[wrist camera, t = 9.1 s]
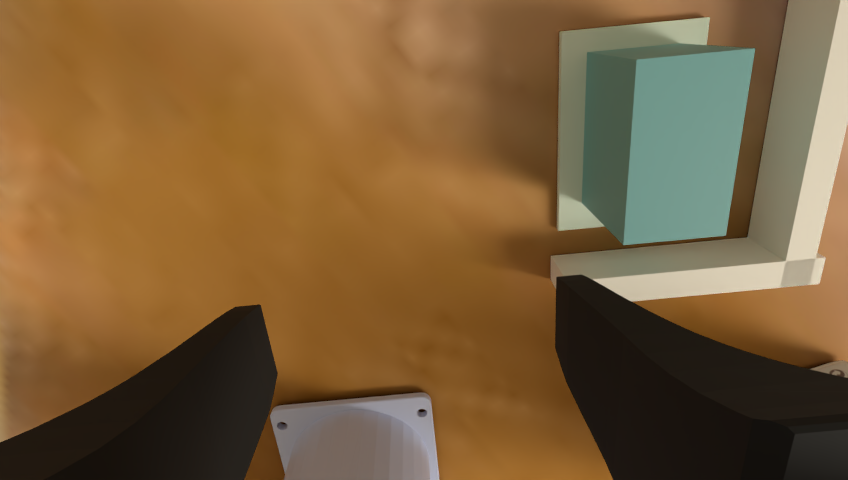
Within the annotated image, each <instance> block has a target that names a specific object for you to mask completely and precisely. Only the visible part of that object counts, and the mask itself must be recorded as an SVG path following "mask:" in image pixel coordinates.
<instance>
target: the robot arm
mask: <svg viewBox="0 0 848 480" xmlns="http://www.w3.org/2000/svg"><path fill="white" fill-rule="evenodd" d="M555 348H556V352H557V355H558V358H559V361H560V364H561V367H562V370H563V373H564V376H565V379H566V382H567V384H568V386H569V388H570V391H571V393H572V395H573V397H574V399H575V401H576V403H577V405H578V407H579V409H580V411H581V413H582V415H583V417H584V419H585V421H586V423H587V425H588V427H589V429H590V431H591V433H592V435H593V437H594V439H595V441H596V443H597V445H598V447H599V449H600V451H601V453H602V456H603V458H604V460H605V462H606V464H607V466H608V469H609V471H610V473H611V475H612V478H613V480H848V378H846V377H841V376H837V375H832V374H828V373H824V372H819V371H815V370H810V369H806V368H802V367H798V366H794V365H790V364H787V363H783V362H779V361H775V360H772V359H769V358H766V357H762V356H759V355H756V354H752V353H749V352H746V351H743V350H740V349H737V348H734V347H731V346H728V345H725V344H722V343H720V342H717V341H715V340H712V339H710V338H707V337H704V336H702V335H699V334H697V333H694V332H692V331H690V330H687V329H685V328H683V327H681V326H678V325H676V324H674V323H672V322H670V321H668V320H666V319H664V318H662V317H660V316H658V315H656V314H654V313H652V312H650V311H648V310H646V309H644V308H642V307H640V306H638V305H637V304H635V303H633V302H631V301H629V300H627V299H626V298H624V297H622V296H620V295H619V294H617V293H615V292H613V291H612V290H610V289H608V288H606V287H605V286H603V285H601V284H599V283H598V282H596V281H594V280H592V279H590V278H588V277H586V276H584V275H582V274H581V275H570V276H560V277H556V334H555ZM276 379H277V370H276V366H275V361H274V357H273V353H272V349H271V345H270V341H269V337H268V333H267V329H266V325H265V321H264V317H263V313H262V309H261V305H251V306H240V307H235V308H233V309H231V310H229V311H228V312H226V313H224V314H223V315H221V316H220V317H218V318H217V319H216V320H214V321H213V322H211V323H210V324H209V325H207V326H206V327H204V328H203V329H202V330H200V331H199V332H197V333H196V334H195V335H193V336H192V337H190V338H189V339H188V340H186V341H185V342H183V343H182V344H181V345H179V346H178V347H177V348H175V349H174V350H172V351H171V352H169V353H168V354H166V355H165V356H163V357H162V358H160V359H159V360H157V361H156V362H154V363H153V364H151V365H150V366H148V367H147V368H145V369H144V370H142V371H141V372H139V373H138V374H136V375H134V376H133V377H131V378H130V379H128V380H126V381H125V382H123V383H121V384H120V385H118V386H116V387H114V388H113V389H111V390H109V391H107V392H105V393H104V394H102V395H100V396H98V397H96V398H95V399H93V400H91V401H89V402H87V403H85V404H83V405H81V406H79V407H77V408H75V409H73V410H71V411H69V412H67V413H65V414H63V415H61V416H58V417H56V418H54V419H52V420H50V421H48V422H46V423H44V424H42V425H40V426H38V427H36V428H33V429H31V430H29V431H26V432H24V433H22V434H19V435H17V436H15V437H12V438H10V439H8V440H5V441H3V442H0V480H244V478H245V476H246V473H247V470H248V468H249V465H250V462H251V460H252V457H253V454H254V452H255V449H256V447H257V444H258V441H259V439H260V436H261V433H262V430H263V428H264V425H265V422H266V419H267V416H268V414H269V411H270V407H271V403H272V398H273V394H274V389H275V384H276ZM420 409H425V410H426V411H424V412H420V411H418V410H420ZM270 419H271V423H272V427H273V431H274V434H275V438H276V442H277V446H278V449H279V453H280V457H281V461H282V464H283V468H284V472H285V477H284V480H439V471H438V461H437V452H436V442H435V433H434V423H433V414H432V404H431V398H430V396H429V395H428V394H426V393H421V392H420V393H409V394H398V395H387V396H376V397H365V398H355V399H344V400H333V401H322V402H311V403H301V404H290V405H279V406H276V407H274V408H273V410H272V412H271V415H270ZM280 422H284V423H286V424H281V423H280Z"/></svg>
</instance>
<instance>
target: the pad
mask: <svg viewBox="0 0 848 480" xmlns="http://www.w3.org/2000/svg"><path fill="white" fill-rule="evenodd" d="M709 21H710V17H703V18H693V19H683V20H673V21H662V22H652V23H642V24H631V25H621V26H611V27H601V28H590V29H580V30H570V31H559V96H558V168H557V230H558V231H563V230H574V229H584V228H595V227H605V226H604V225H603V224H602V223H601V222H600V221H599V220H598V219H597V218H596V217H595V216H594V215H593V214H592V213H591V212H590V211H589V210H588V209H587V208H586V207H585V206H584V205H583V204H582V179H583V151H584V122H585V94H586V66H587V52H594V51H604V50H615V49H625V48H636V47H646V46H657V45H667V44H678V43H683V44H698V45H707V38H708V30H709Z"/></svg>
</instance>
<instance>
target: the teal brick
mask: <svg viewBox="0 0 848 480" xmlns="http://www.w3.org/2000/svg"><path fill="white" fill-rule="evenodd" d="M754 53H755V48H743V47H728V46H713V45H698V44H683V43H678V44H667V45H657V46H646V47H636V48H625V49H615V50H604V51H594V52H587V66H586V94H585V122H584V151H583V179H582V204H583V205H584V206H585V207H586V208H587V209H588V210H589V211H590V212H591V213H592V214H593V215H594V216H595V217H596V218H597V219H598V220H599V221H600V222H601V223H602V224H603V225H604V226H605V227H606V228H607V229H608V230H609V231H610V232H611V233H612V234H613V235H614V236H615V237H616V238H617V239H618V240H619V241H620V242H621V243H622V244H623V245H631V244H641V243H652V242H663V241H674V240H685V239H695V238H706V237H717V236H726V232H727V226H728V219H729V213H730V206H731V200H732V194H733V187H734V181H735V175H736V168H737V162H738V155H739V149H740V143H741V136H742V130H743V124H744V117H745V111H746V104H747V98H748V92H749V85H750V79H751V73H752V66H753V60H754Z"/></svg>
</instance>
